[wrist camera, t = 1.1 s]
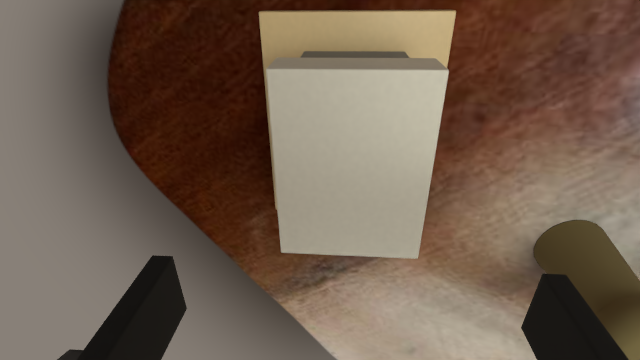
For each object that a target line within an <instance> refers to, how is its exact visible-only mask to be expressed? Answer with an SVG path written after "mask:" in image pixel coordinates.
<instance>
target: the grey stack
mask: <svg viewBox="0 0 640 360" xmlns="http://www.w3.org/2000/svg"><path fill="white" fill-rule="evenodd" d="M455 16H456V11H454V10H308V11H260V12H259V22H260V34H261V45H262V57H263V68H264V80H265V92H266V103H267V115H268V126H269V138H270V150H271V161H272V173H273V184H274V196H275V208H276V209H277V198H276V186H275V174H274V162H273V150H272V138H271V126H270V113H269V101H268V89H267V77H266V69H267V68H268V66H269V65H270V64H271V63H272V62H273V61H274V60H275V59H276V58H278V57H284V58H436V59H437V60H438V61H439V62H440V63H442V64H443V65H444V66H445V67H446V68H447V65H448V59H449V53H450V47H451V41H452V35H453V28H454V22H455Z"/></svg>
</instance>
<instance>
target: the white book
mask: <svg viewBox="0 0 640 360" xmlns="http://www.w3.org/2000/svg"><path fill="white" fill-rule="evenodd" d="M448 74H449V70H448V69H447V68H446V67H445V66H444V65H443V64H442V63H440V62H439V61H438V60H437V59H436V58H284V57H278V58H276V59H275V60H274V61H273V62H272V63H271V64H270V65H269V66H268V68H267V69H266V77H267V89H268V101H269V113H270V126H271V138H272V150H273V162H274V174H275V186H276V198H277V210H278V222H279V234H280V246H281V252H282V253H300V254H323V255H346V256H369V257H392V258H415V259H417V258H418V255H419V248H420V242H421V236H422V230H423V224H424V218H425V212H426V206H427V200H428V194H429V188H430V182H431V176H432V170H433V164H434V158H435V152H436V146H437V140H438V134H439V128H440V122H441V116H442V110H443V104H444V98H445V92H446V86H447V80H448Z"/></svg>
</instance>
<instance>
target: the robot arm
mask: <svg viewBox="0 0 640 360" xmlns="http://www.w3.org/2000/svg"><path fill="white" fill-rule="evenodd" d="M185 311H186V304H185V300H184V297H183V293H182V289H181V286H180V282H179V279H178V275H177V271H176V268H175V264H174V260H173V257H172V256H152V257H151V258H150V260H149V261H148V262H147V264H146V265H145V267H144V268H143V269H142V271H141V272H140V273H139V275H138V276H137V278H136V279H135V280H134V282H133V283H132V284H131V286H130V287H129V289H128V290H127V291H126V293H125V294H124V296H123V297H122V298H121V300H120V301H119V302H118V304H117V305H116V306H115V308H114V309H113V310H112V312H111V313H110V315H109V316H108V317H107V319H106V320H105V321H104V323H103V324H102V326H101V327H100V328H99V330H98V331H97V332H96V334H95V335H94V337H93V338H92V339H91V341H90V342H89V343H88V345H87V346H86V348H85V349H84V350H69V351H67V352H66V353H65V354H64V355H62V356H61V357H60V358H59V359H57V360H161V359H162V357H163V355H164V353H165V351H166V349H167V347H168V344H169V343H170V341H171V339H172V337H173V335H174V333H175V331H176V329H177V327H178V325H179V323H180V321H181V319H182V317H183V315H184V313H185ZM521 328H522V330H523V332H524V334H525V336H526V338H527V340H528V342H529V344H530V346H531V348H532V350H533V352H534V354H535V356H536V359H537V360H629V359H628V358H627V356H626V355H625V354H624V352H623V351H622V350H621V348H620V347H619V346H618V344H617V343H616V342H615V340H614V339H613V338H612V336H611V335H610V333H609V332H608V331H607V329H606V328H605V327H604V325H603V324H602V323H601V321H600V320H599V319H598V317H597V316H596V315H595V313H594V312H593V311H592V309H591V308H590V306H589V305H588V304H587V302H586V301H585V300H584V298H583V297H582V296H581V294H580V293H579V292H578V290H577V289H576V288H575V286H574V285H573V283H572V282H571V281H570V279H569V278H568V277H567V275H562V274H542V277H541V279H540V282H539V284H538V287H537V289H536V292H535V294H534V297H533V299H532V302H531V304H530V307H529V309H528V312H527V314H526V317H525V319H524V322H523V324H522V327H521Z"/></svg>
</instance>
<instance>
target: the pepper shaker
mask: <svg viewBox="0 0 640 360" xmlns="http://www.w3.org/2000/svg"><path fill="white" fill-rule="evenodd" d="M534 257H535V259H536V261H537V263H538V264H539V265H540V266H541V267H542V268H543V269H544V270H545V272H546V273H547V274H562V275H567V277H568V278H569V279H570V281H571V282H572V283H573V285H574V286H575V288H576V289H577V290H578V292H579V293H580V294H581V296H582V297H583V298H584V300H585V301H586V302H587V304H588V305H589V306H590V308H591V309H592V311H593V312H594V313H595V315H596V316H597V317H598V319H599V320H600V321H601V323H602V324H603V325H604V327H605V328H606V329H607V331H608V332H609V333H610V335H611V336H612V338H613V339H614V340H615V342H616V343H617V344H618V346H619V347H620V348H621V350H622V351H623V352H624V354H625V355H626V356H627V358H628V359H629V360H640V281H639V279H638V278H637V276H636V275H635V274H634V272H633V271H632V269H631V268H630V267H629V265H628V264H627V262H626V261H625V260H624V258H623V257H622V255H621V254H620V253H619V251H618V250H617V248H616V247H615V246H614V244H613V243H612V241H611V240H610V239H609V237H608V236H607V234H606V233H605V232H604V230H603V229H602V228H601V227H599V226H598V225H597V224H595V223H592V222H589V221H583V220H574V221H568V222H563V223H561V224H559V225H556V226H554V227H552V228H550V229H549V230H548V231H546V232H545V233H543V235H542V236H541V237H540V238H539V239H538V241H537V242H536V245H535V248H534Z"/></svg>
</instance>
